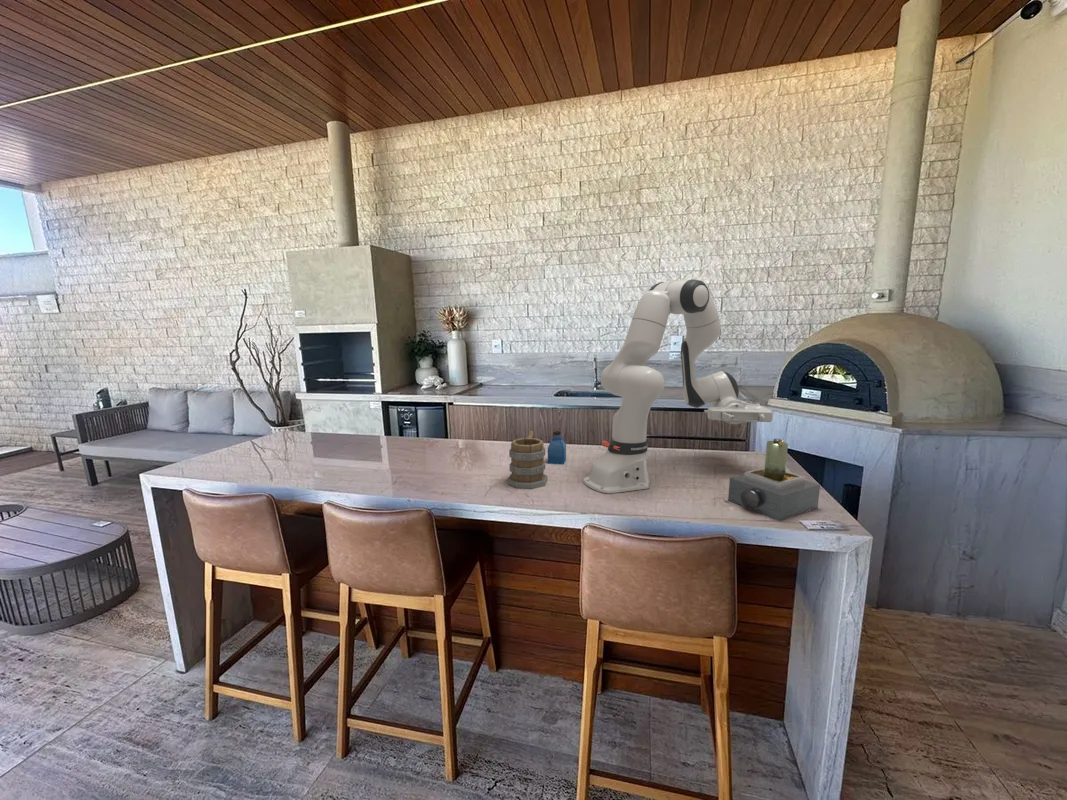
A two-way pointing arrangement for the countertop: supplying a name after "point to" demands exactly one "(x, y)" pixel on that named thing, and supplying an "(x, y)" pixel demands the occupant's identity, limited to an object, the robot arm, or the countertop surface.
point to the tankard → (527, 463)
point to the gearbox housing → (774, 494)
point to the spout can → (776, 460)
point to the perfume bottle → (557, 449)
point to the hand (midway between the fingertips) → (746, 418)
